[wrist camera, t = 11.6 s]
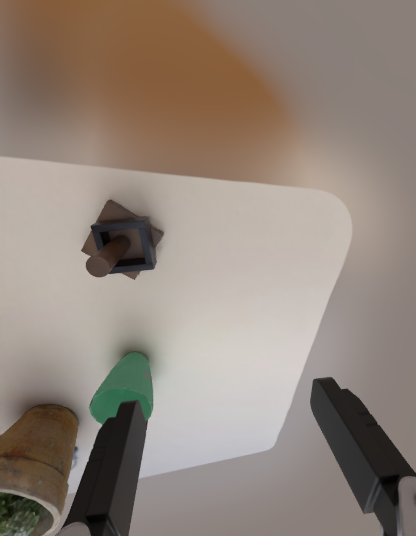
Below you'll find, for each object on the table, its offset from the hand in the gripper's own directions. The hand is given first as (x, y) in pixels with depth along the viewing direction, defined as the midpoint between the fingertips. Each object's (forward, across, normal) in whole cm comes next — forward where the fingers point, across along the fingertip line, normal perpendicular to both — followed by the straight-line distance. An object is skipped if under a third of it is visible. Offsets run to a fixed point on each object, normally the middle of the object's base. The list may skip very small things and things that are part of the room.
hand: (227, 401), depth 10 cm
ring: (+26, +11, -1) cm, 29 cm away
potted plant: (+28, +37, +38) cm, 60 cm away
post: (+28, +12, -1) cm, 31 cm away
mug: (+28, +16, +26) cm, 41 cm away
